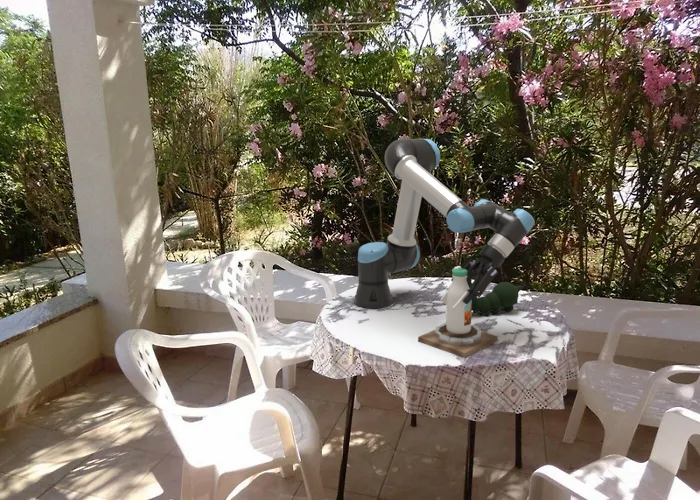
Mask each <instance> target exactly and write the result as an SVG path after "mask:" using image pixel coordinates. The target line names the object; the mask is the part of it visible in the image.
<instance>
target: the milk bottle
mask: <svg viewBox="0 0 700 500" xmlns="http://www.w3.org/2000/svg"><path fill="white" fill-rule="evenodd" d="M462 268H463V267H461V268H457V269H454V268H452V269H453V271H452V270H451V273H452V278H453V281H451V283H452V284H451V283H450V285H451V286H450V285H449V286H450V288H449V287H448V289H449V290H448V289H447V290H448V294H447V305H446V320H445V322H446V328H447V330H448V331H449V332H451V333H455V334H465V333H468V332H470V330H471V325H472V311H473V310H472V299H471V301H470V302H469V303H468V304H467V305H466V306H465V307H464V308H463V309H462V310H461V312H460V313H458V312H457V311H456V310H455V309H454V308H453V306H454V305H455V304H456V303H457V302H458V300H459V299H460V298H461V297H462V296H463V294H464V293H465V292H466V291H467V290H468V289H470V288H469V286H468V283H467V279H466V278H467V270H466V269H462ZM467 292H468V291H467ZM468 293H469V292H468ZM471 310H472V311H471Z"/></svg>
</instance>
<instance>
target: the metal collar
mask: <svg viewBox="0 0 700 500" xmlns="http://www.w3.org/2000/svg"><path fill="white" fill-rule="evenodd" d="M434 330H435V338H436V339H437V340H438V341H440V342H443V343H446V344H450V345H458V346H465V345H473V344H476V343H478V342H480V341H481V332H483V330H481V328H479V327H478V326H477V325H473V324H471V330H470V332H472V333H474V334H475V336H472V337H468V338H453V337H449V336H446V335H443V334H441V332H444V331H446V330H447V328H446V323H442V324H440V325H436V327H435V329H434Z"/></svg>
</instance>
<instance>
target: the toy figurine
mask: <svg viewBox="0 0 700 500" xmlns="http://www.w3.org/2000/svg"><path fill="white" fill-rule="evenodd" d="M467 283H468V286H469V288H471V286H472V284H473V282H472V278H471V279H470V280H468V281H467ZM523 288H524V285H514V284H513V283H511V282H507V281H502V282H499V283H498V284H496V285H495V286H493V288H492V290H491V292H487V293H486V294H485V295H483V296H480V297H478V296H476V297H473V298H472V310H471V312H472V313H473V315H478V314H479V313H480V314H483V315H484V316H485V317H487V316H490V312H493V313H495V314H496V315H497V314H500V313H501V311H502V309H501V308H503V310H504V311H505V312H512V311H513V310H514V305H517V304H518V302H519V301H518V300H519V292H520V291H521V290H522V289H523Z"/></svg>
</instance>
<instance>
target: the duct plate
mask: <svg viewBox="0 0 700 500" xmlns="http://www.w3.org/2000/svg"><path fill="white" fill-rule="evenodd" d="M441 334H443V335H446V336H449V337H453V338H468V337H472V336H475V334H474V333H472V332H468V333H465V334H455V333H451V332H449V331H448V330H446V331H444V332H441ZM417 338H418V339H417V342H419V343H422V344H425V345H428V346H431V347H434V348H435V349H439V350H442V351H445V352H448V353H451V354H454V355H457V356H458V357H462V358H468V357H469V356H471V355H473V354H475V353H477V352H479V351H481V350H483V349H485V348H487V347H488V346H489V347H490V346H491V345H492V344H495V343H497V342H498V341H499V336H497V335H494V334H491V333H487V332H484V331H482V332H481V341H480V342H478V343H476V344H473V345H465V346H458V345H450V344H446V343H443V342H440V341H438V340H437V339H436V338H435V329H433V330H431V331H429V332H426V333H424V334H421V335H419V336H418V337H417Z"/></svg>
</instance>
